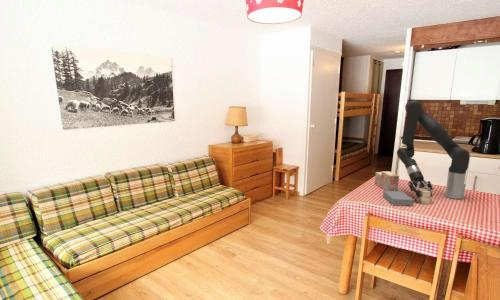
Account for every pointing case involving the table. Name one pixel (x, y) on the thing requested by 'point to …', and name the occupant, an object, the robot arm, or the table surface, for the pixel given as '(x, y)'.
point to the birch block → (424, 196)
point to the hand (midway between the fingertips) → (425, 196)
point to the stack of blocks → (387, 180)
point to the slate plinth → (398, 198)
